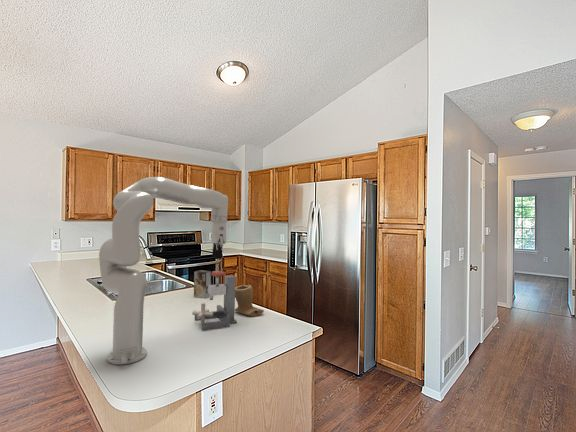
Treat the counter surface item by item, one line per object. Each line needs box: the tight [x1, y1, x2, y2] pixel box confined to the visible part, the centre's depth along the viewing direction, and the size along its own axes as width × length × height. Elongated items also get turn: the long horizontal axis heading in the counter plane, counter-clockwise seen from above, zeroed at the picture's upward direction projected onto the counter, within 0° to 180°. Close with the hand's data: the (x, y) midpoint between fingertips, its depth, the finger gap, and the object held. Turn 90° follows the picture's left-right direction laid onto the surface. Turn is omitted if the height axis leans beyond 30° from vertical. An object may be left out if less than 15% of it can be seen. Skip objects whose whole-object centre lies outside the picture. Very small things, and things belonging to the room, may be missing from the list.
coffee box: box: [193, 269, 212, 299], centre depth 196 cm, size 9×6×16 cm
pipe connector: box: [191, 302, 214, 326], centre depth 146 cm, size 10×10×10 cm
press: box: [194, 274, 238, 332], centre depth 149 cm, size 16×17×22 cm
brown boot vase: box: [235, 284, 265, 317], centre depth 164 cm, size 15×12×15 cm
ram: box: [208, 270, 226, 301], centre depth 149 cm, size 6×7×13 cm
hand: (216, 257), depth 149 cm, fingers open, 4 cm apart
